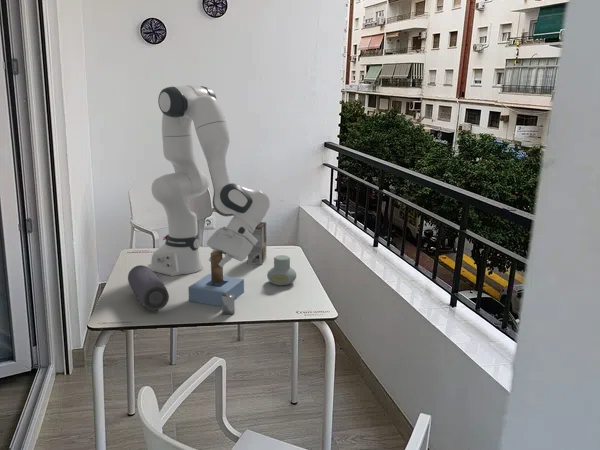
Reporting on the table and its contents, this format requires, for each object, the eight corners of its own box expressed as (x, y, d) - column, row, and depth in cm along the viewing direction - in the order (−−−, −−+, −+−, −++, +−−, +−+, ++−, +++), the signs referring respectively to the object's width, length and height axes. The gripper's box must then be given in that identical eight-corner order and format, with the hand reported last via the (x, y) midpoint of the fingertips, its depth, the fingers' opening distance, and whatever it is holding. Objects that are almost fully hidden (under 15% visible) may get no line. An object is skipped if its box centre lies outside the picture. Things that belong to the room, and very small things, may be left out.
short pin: (219, 314, 165) (219, 297, 163) (225, 309, 169) (225, 292, 167) (231, 316, 164) (230, 298, 162) (236, 311, 167) (236, 294, 166)
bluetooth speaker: (171, 311, 167) (170, 282, 164) (142, 316, 162) (140, 287, 160) (153, 288, 186) (152, 261, 184) (127, 292, 181) (125, 265, 179)
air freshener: (298, 280, 197) (298, 255, 194) (293, 287, 189) (294, 262, 186) (270, 277, 198) (270, 253, 196) (265, 285, 191) (265, 259, 188)
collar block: (188, 300, 175) (188, 287, 174) (209, 286, 188) (208, 273, 187) (225, 307, 171) (225, 292, 170) (244, 292, 184) (243, 279, 182)
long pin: (209, 282, 177) (208, 254, 174) (215, 278, 180) (214, 251, 178) (219, 283, 175) (218, 255, 173) (225, 279, 179) (224, 252, 177)
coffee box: (252, 257, 223) (252, 221, 219) (266, 258, 222) (266, 221, 218) (247, 263, 214) (246, 226, 210) (262, 264, 213) (262, 227, 209)
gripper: (217, 220, 185) (194, 251, 182) (249, 232, 170) (225, 266, 167) (227, 230, 189) (205, 261, 185) (260, 242, 174) (237, 276, 170)
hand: (215, 263), depth 176 cm, fingers closed on long pin, 4 cm apart
